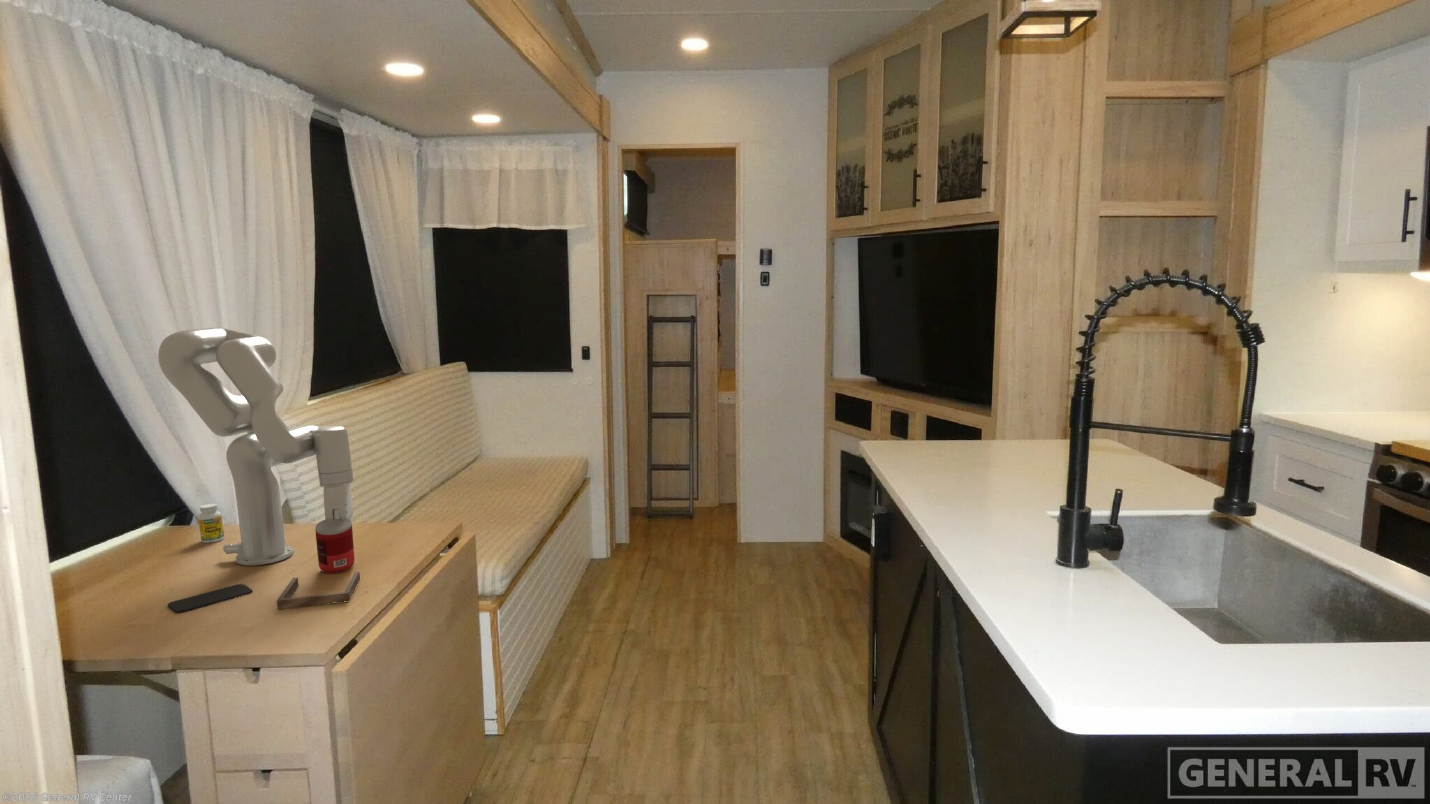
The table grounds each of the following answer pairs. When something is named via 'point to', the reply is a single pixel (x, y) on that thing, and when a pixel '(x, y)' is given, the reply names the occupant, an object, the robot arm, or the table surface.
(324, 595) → the walnut frame
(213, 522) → the supplement bottle
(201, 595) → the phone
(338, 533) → the canned food
